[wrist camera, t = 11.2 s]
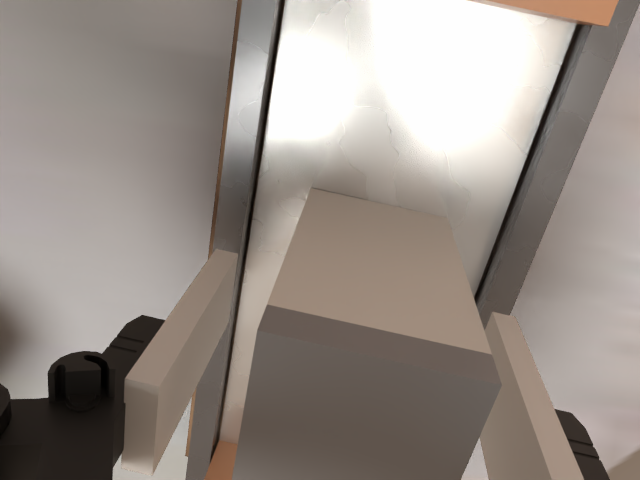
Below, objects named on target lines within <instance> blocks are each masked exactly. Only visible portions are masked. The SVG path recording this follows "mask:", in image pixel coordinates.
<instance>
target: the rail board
mask: <svg viewBox="0 0 640 480" xmlns="http://www.w3.org/2000/svg"><path fill="white" fill-rule="evenodd" d="M639 4H640V0H238V1H237V10H236V18H235V27H234V36H233V45H232V53H231V62H230V71H229V80H228V88H227V97H226V106H225V115H224V123H223V132H222V141H221V149H220V158H219V167H218V176H217V184H216V193H215V202H214V211H213V219H212V228H211V237H210V246H209V254H208V259H209V258H210V256H211V255H212V254H213V252H214V251H215V249H219V250H224V251H228V252H232V253H237V254H238V260H237V267H236V274H235V281H234V288H233V295H232V302H231V309H230V316H229V322H228V324H227V326H226V328H225V330H224V332H223V334H222V337H221V339H220V341H219V343H218V345H217V347H216V349H215V351H214V353H213V355H212V357H211V359H210V361H209V363H208V365H207V367H206V369H205V371H204V373H203V375H202V377H201V379H200V381H199V383H198V385H197V387H196V389H195V391H194V393H193V395H192V403H191V412H190V420H189V429H188V438H187V447H186V455H185V456H187V457H188V464H187V472H186V480H232V475H233V469H234V463H235V457H236V451H237V445H238V439H239V434H240V428H241V422H242V416H243V410H244V404H245V398H246V393H247V387H248V381H249V375H250V369H251V363H252V357H253V352H254V346H255V340H256V334H257V329H258V327H259V324H260V321H261V319H262V316H263V313H264V311H265V308H266V305H267V303H268V300H269V297H270V295H271V292H272V290H273V287H274V284H275V282H276V279H277V276H278V274H279V271H280V268H281V266H282V263H283V260H284V258H285V255H286V252H287V250H288V247H289V244H290V242H291V239H292V236H293V234H294V231H295V229H296V226H297V223H298V221H299V218H300V215H301V213H302V210H303V207H304V205H305V202H306V199H307V197H308V194H309V191H310V189H311V188H313V189H318V190H322V191H327V192H331V193H336V194H340V195H345V196H350V197H354V198H359V199H363V200H368V201H372V202H377V203H381V204H386V205H391V206H395V207H400V208H404V209H409V210H413V211H418V212H422V213H427V214H432V215H436V216H441V217H445V218H448V221H449V224H450V227H451V230H452V233H453V236H454V239H455V242H456V245H457V248H458V251H459V254H460V257H461V260H462V264H463V267H464V270H465V273H466V276H467V279H468V282H469V285H470V288H471V291H472V294H473V297H474V300H475V304H476V307H477V310H478V313H479V316H480V319H481V322H482V325H483V328H484V331H485V329H486V326H487V324H488V321H489V319H490V316H491V314H492V312H496V313H500V314H505V315H510V313H511V311H512V308H513V306H514V303H515V301H516V299H517V296H518V294H519V291H520V289H521V287H522V284H523V282H524V279H525V277H526V275H527V272H528V270H529V267H530V265H531V263H532V260H533V258H534V256H535V253H536V251H537V248H538V246H539V244H540V241H541V239H542V236H543V234H544V232H545V229H546V227H547V224H548V222H549V220H550V217H551V215H552V212H553V210H554V208H555V205H556V203H557V200H558V198H559V196H560V193H561V191H562V188H563V186H564V184H565V181H566V179H567V176H568V174H569V172H570V169H571V167H572V164H573V162H574V160H575V157H576V155H577V152H578V150H579V148H580V145H581V143H582V140H583V138H584V136H585V133H586V131H587V128H588V126H589V124H590V121H591V119H592V116H593V114H594V112H595V109H596V107H597V104H598V102H599V100H600V97H601V95H602V92H603V90H604V88H605V85H606V83H607V80H608V78H609V76H610V73H611V71H612V68H613V66H614V64H615V61H616V59H617V57H618V54H619V52H620V49H621V47H622V45H623V42H624V40H625V37H626V35H627V33H628V30H629V28H630V25H631V23H632V21H633V18H634V16H635V13H636V11H637V9H638V6H639Z"/></svg>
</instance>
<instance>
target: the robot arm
mask: <svg viewBox="0 0 640 480" xmlns="http://www.w3.org/2000/svg"><path fill="white" fill-rule="evenodd" d="M237 260H238V254H237V253H232V252H228V251H224V250H219V249H215V251H214V252H213V254H212V255H211V256H210V258H209V259H208V261H207V262H206V264H205V265H204V266H203V268H202V269H201V271H200V272H199V274H198V275H197V276H196V278H195V279H194V281H193V282H192V283H191V285H190V286H189V288H188V289H187V291H186V292H185V293H184V295H183V296H182V298H181V299H180V301H179V302H178V303H177V305H176V306H175V308H174V309H173V311H172V312H171V313H170V315H169V316H168V318H167V319H166V320H162V319H157V318H153V317H149V316H144V315H141V316H140V317H138V318H136V319H134V320H132V321H131V322H129V323H127V324H126V325H125V326H124V328H123V329H122V330H121V331H120V333H119V334H118V335H117V338H116V337H115V339H114V340H113V341H112V342H111V344H110V346H109V347H107V348H106V350H105V351H104V352H103V353H102V354H101V353H98V352H90V351H82V352H76V353H71V354H68V355H66V356H64V357H61V358H60V359H58V360H57V361H56V362H55V363H53V364H52V365H51V367H50V369H49V371H48V392H49V398H41V399H10V395H9V392H8V389H7V388H5V387H4V386H3V385H1V384H0V480H112V474H113V467H114V465H115V463H116V462H117V460H118V458H119V457H120V455H121V453H122V458H121V468H122V469H126V470H130V471H134V472H138V473H142V474H147V475H151V476H152V475H153V473H154V471H155V469H156V467H157V465H158V463H159V461H160V459H161V457H162V455H163V453H164V451H165V449H166V447H167V445H168V443H169V441H170V439H171V437H172V435H173V433H174V431H175V429H176V427H177V425H178V423H179V421H180V419H181V417H182V415H183V413H184V411H185V409H186V407H187V405H188V403H189V401H190V399H191V397H192V395H193V393H194V391H195V389H196V387H197V385H198V383H199V381H200V379H201V377H202V375H203V373H204V371H205V369H206V367H207V365H208V363H209V361H210V359H211V357H212V355H213V353H214V351H215V349H216V347H217V345H218V343H219V341H220V339H221V337H222V334H223V332H224V330H225V328H226V326H227V324H228V322H229V316H230V309H231V302H232V295H233V288H234V281H235V274H236V267H237ZM485 334H486V337H487V340H488V343H489V347H490V350H491V353H492V356H493V359H494V362H495V365H496V368H497V371H498V374H499V377H500V380H501V383H502V387H501V389H500V391H499V393H498V396H497V398H496V400H495V402H494V405H493V407H492V409H491V412H490V414H489V416H488V418H487V421H486V423H485V425H484V428H483V430H482V432H481V434H480V441H481V446H482V450H483V455H484V459H485V464H486V469H487V473H488V478H489V480H610V479H609V477H608V475H607V473H606V470H605V468H604V466H603V464H602V462H601V461H600V460H599V456H598V454H597V452H596V449H595V448H594V447H593V443H592V441H591V439H590V437H589V435H588V433H587V431H586V429H585V427H584V426H583V425H582V424H581V423H580V422H579V421H578V420H577V419H576V418H575V416H574V415H573V414H572V413H569V412H565V411H560V410H556V409H554V407H553V405H552V402H551V400H550V398H549V395H548V393H547V391H546V388H545V386H544V383H543V381H542V379H541V376H540V374H539V372H538V369H537V367H536V365H535V362H534V360H533V357H532V355H531V353H530V350H529V348H528V346H527V343H526V341H525V339H524V336H523V334H522V331H521V329H520V327H519V324H518V322H517V320H516V317H514V316H509V315H505V314H500V313H496V312H492V314H491V316H490V319H489V321H488V324H487V326H486V329H485Z"/></svg>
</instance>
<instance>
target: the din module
mask: <svg viewBox="0 0 640 480" xmlns="http://www.w3.org/2000/svg"><path fill="white" fill-rule="evenodd" d="M501 387H502V383H501V380H500V377H499V374H498V371H497V368H496V365H495V362H494V359H493V356H492V353H491V350H490V347H489V343H488V340H487V337H486V334H485V331H484V328H483V325H482V322H481V319H480V316H479V313H478V310H477V307H476V304H475V300H474V297H473V294H472V291H471V288H470V285H469V282H468V279H467V276H466V273H465V270H464V267H463V264H462V260H461V257H460V254H459V251H458V248H457V245H456V242H455V239H454V236H453V233H452V230H451V227H450V224H449V221H448V218H445V217H441V216H436V215H432V214H427V213H422V212H418V211H413V210H409V209H404V208H400V207H395V206H391V205H386V204H381V203H377V202H372V201H368V200H363V199H359V198H354V197H350V196H345V195H340V194H336V193H331V192H327V191H322V190H318V189H313V188H311V189H310V191H309V194H308V197H307V199H306V202H305V205H304V207H303V210H302V213H301V215H300V218H299V221H298V223H297V226H296V229H295V231H294V234H293V236H292V239H291V242H290V244H289V247H288V250H287V252H286V255H285V258H284V260H283V263H282V266H281V268H280V271H279V274H278V276H277V279H276V282H275V284H274V287H273V290H272V292H271V295H270V297H269V300H268V303H267V305H266V308H265V311H264V313H263V316H262V319H261V321H260V324H259V327H258V329H257V334H256V340H255V346H254V352H253V357H252V363H251V369H250V375H249V381H248V387H247V393H246V398H245V404H244V410H243V416H242V422H241V428H240V434H239V439H238V445H237V451H236V457H235V463H234V469H233V475H232V480H461V478H462V475H463V473H464V471H465V469H466V466H467V464H468V462H469V459H470V457H471V455H472V453H473V450H474V448H475V446H476V443H477V441H478V439H479V437H480V434H481V432H482V430H483V428H484V425H485V423H486V421H487V418H488V416H489V414H490V412H491V409H492V407H493V405H494V402H495V400H496V398H497V396H498V393H499V391H500V389H501Z"/></svg>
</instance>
